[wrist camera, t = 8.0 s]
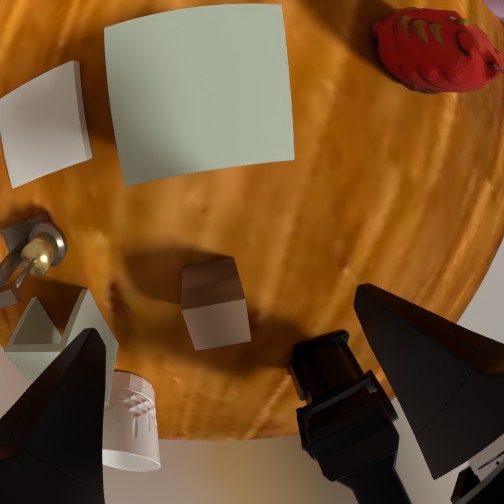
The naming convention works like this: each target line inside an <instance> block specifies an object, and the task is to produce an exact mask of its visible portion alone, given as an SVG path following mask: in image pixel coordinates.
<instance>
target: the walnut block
mask: <svg viewBox="0 0 504 504" xmlns="http://www.w3.org/2000/svg"><path fill="white" fill-rule="evenodd" d="M181 311H182V314H183V317H184V320H185V322H186V325H187V328H188V331H189V334H190V336H191V339H192V342H193V345H194V347H195V350H196V351H197V350H204V349H210V348H216V347H222V346H227V345H233V344H238V343H243V342H248V341H251V336H250V329H249V321H248V314H247V307H246V300H245V296H244V292H243V289H242V285H241V281H240V278H239V274H238V271H237V267H236V263H235V260H234V258H228V259H223V260H217V261H211V262H206V263H200V264H195V265H189V266H183V267H182V295H181Z"/></svg>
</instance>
